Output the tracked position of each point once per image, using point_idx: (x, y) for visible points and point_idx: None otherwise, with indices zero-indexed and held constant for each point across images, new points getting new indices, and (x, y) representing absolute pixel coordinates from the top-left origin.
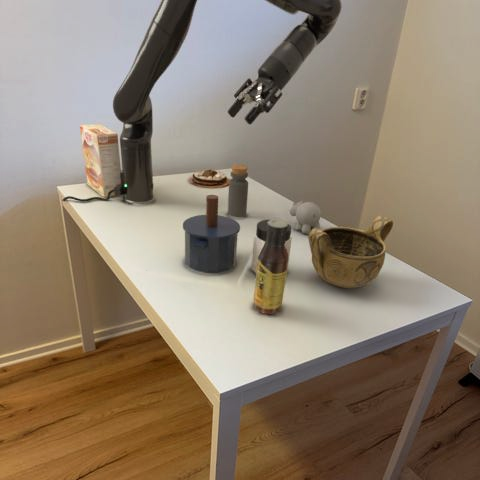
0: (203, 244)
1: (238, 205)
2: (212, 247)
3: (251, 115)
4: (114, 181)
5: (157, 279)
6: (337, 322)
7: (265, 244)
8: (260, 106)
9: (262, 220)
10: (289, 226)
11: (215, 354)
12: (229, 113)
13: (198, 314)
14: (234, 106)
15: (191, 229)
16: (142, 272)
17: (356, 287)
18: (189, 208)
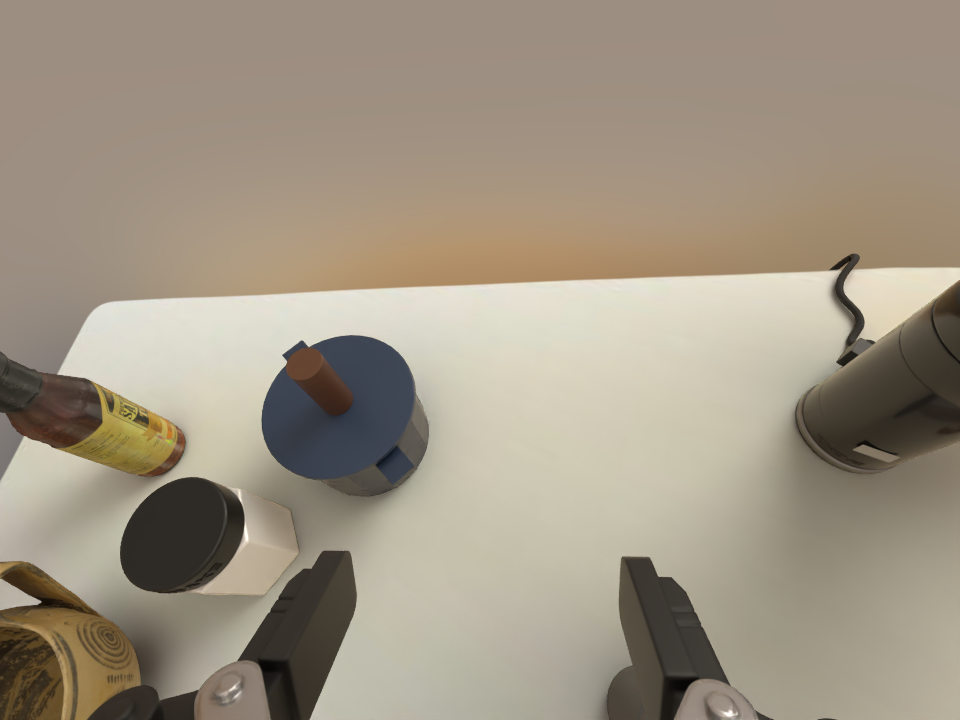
0: (288, 356)
1: (618, 697)
2: None
3: (286, 595)
4: None
5: (370, 321)
6: (22, 551)
7: (41, 372)
8: (188, 703)
9: (224, 520)
10: (134, 577)
11: (145, 322)
12: (622, 565)
13: (234, 339)
14: (642, 624)
15: (343, 347)
16: (407, 308)
17: (11, 702)
18: (749, 557)
